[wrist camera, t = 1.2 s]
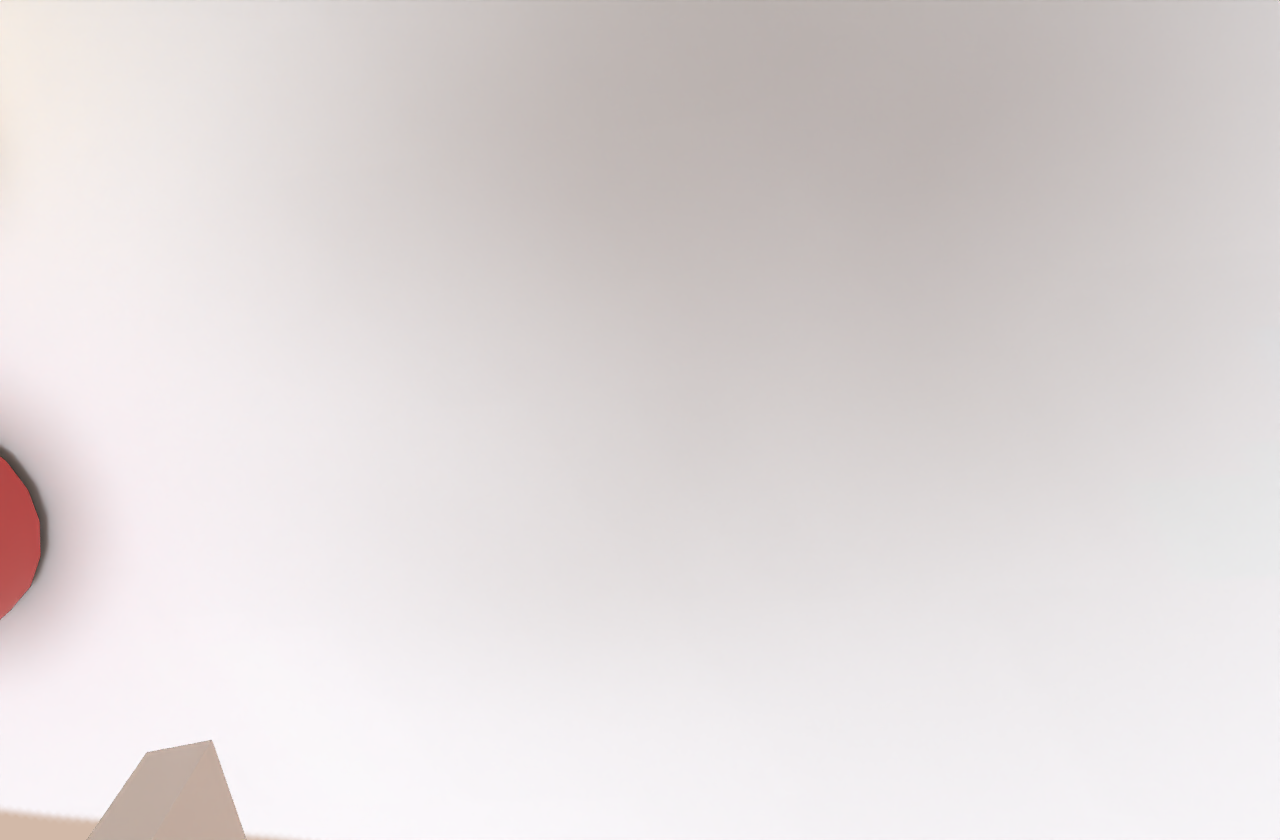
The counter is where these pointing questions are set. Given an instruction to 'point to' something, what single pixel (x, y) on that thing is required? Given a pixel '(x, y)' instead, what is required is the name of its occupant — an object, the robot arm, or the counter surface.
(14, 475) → the beer can
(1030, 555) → the counter surface
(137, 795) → the robot arm
